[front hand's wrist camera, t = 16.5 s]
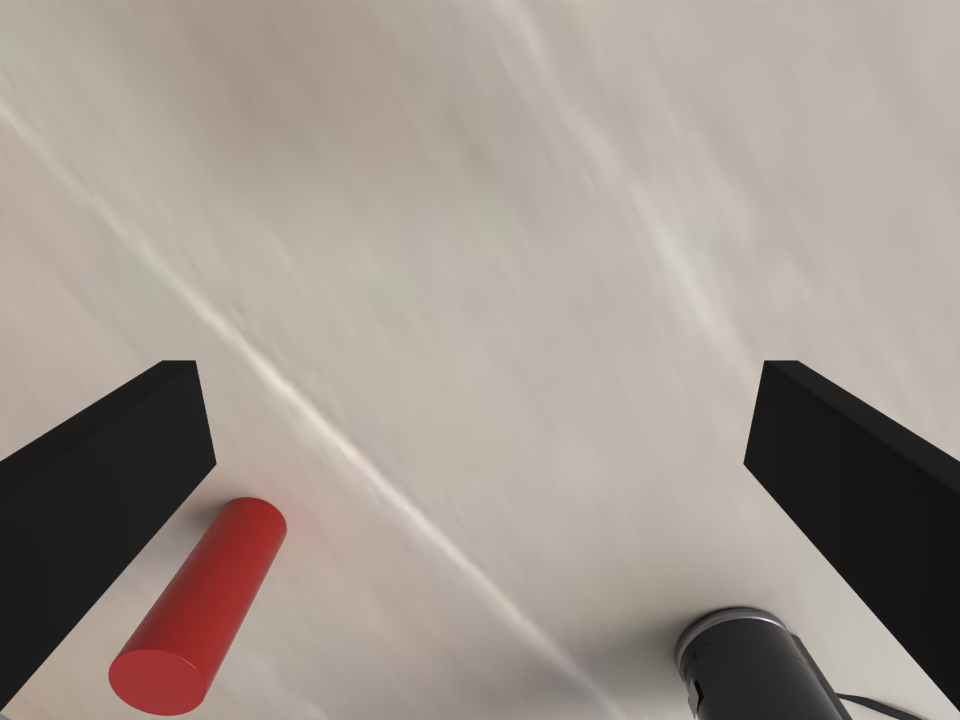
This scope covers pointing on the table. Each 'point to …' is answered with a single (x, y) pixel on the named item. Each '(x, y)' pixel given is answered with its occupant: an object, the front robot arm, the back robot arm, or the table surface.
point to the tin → (199, 612)
